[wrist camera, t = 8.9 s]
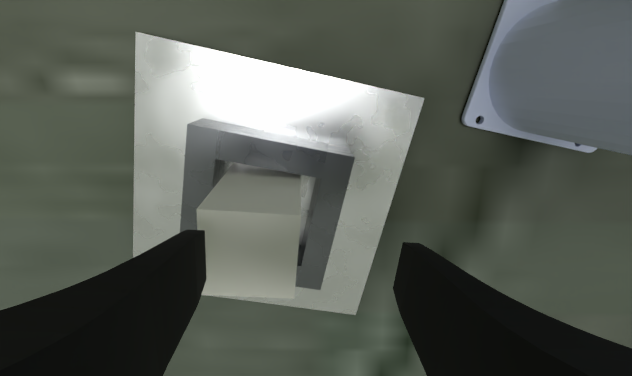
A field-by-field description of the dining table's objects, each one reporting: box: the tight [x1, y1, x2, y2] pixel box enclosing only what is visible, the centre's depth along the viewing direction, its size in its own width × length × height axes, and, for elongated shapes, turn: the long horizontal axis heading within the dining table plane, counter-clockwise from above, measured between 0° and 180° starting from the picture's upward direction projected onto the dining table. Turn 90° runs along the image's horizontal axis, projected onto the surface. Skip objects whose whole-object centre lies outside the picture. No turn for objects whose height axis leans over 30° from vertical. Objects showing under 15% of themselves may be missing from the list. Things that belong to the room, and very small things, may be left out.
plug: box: [196, 163, 301, 299], centre depth 15 cm, size 4×4×7 cm
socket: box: [133, 32, 424, 315], centre depth 18 cm, size 16×16×4 cm
